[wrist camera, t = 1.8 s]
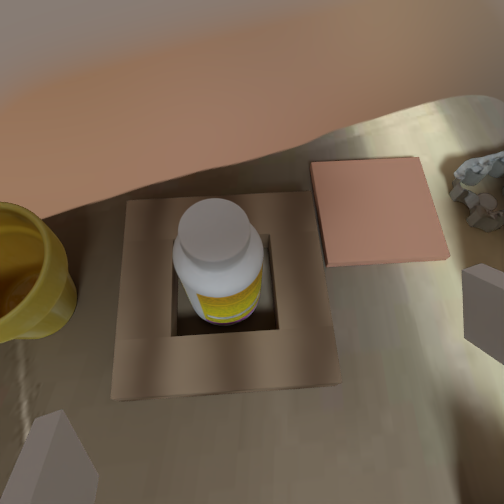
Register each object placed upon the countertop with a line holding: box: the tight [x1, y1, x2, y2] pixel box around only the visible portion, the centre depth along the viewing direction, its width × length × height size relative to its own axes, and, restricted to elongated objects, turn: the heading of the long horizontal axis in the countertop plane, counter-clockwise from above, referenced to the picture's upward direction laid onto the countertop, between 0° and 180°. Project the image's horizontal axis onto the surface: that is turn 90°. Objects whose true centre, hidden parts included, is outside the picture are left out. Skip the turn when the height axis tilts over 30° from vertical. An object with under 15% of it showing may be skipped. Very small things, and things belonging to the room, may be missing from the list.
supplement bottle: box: [173, 198, 263, 326], centre depth 30 cm, size 7×7×13 cm
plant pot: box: [0, 202, 77, 343], centre depth 30 cm, size 10×10×10 cm
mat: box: [310, 157, 450, 267], centre depth 39 cm, size 12×12×1 cm
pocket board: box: [111, 191, 342, 402], centre depth 34 cm, size 18×18×3 cm
